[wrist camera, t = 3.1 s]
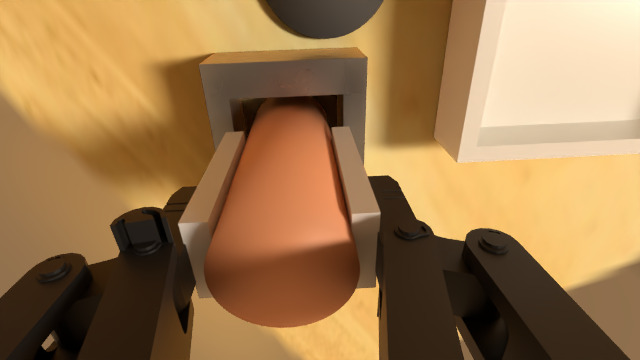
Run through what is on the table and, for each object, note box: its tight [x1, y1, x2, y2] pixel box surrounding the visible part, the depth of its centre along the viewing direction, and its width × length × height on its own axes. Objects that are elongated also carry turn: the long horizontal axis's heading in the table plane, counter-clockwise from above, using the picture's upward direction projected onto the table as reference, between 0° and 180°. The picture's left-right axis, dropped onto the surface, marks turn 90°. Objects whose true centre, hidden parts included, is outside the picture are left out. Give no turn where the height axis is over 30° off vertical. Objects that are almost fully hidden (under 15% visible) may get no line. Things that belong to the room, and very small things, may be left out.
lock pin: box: [204, 96, 360, 328], centre depth 14 cm, size 4×4×11 cm
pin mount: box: [199, 47, 368, 166], centre depth 17 cm, size 8×7×3 cm
